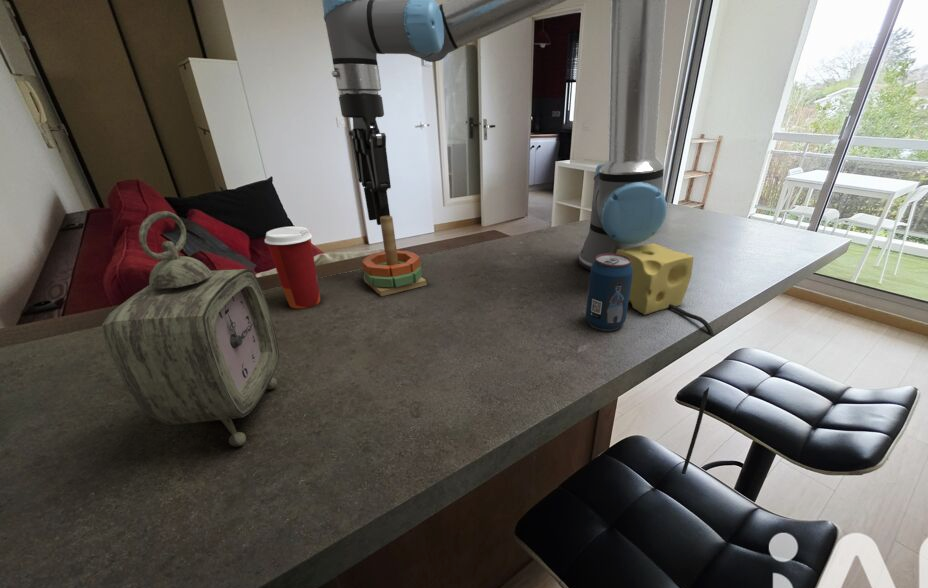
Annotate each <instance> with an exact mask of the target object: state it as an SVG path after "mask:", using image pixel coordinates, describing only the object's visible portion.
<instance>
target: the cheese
mask: <svg viewBox="0 0 928 588" xmlns="http://www.w3.org/2000/svg"><path fill="white" fill-rule="evenodd" d="M616 254H619V255H623V256H626V257H628V258H630V260H631V266H632V269H633V276H632V282H631V288H630V295H629V301H628V304H631V306H632V308H633V309H634V310H636V311H637V312H638V313H640V314H642V315H644V316H645V315H649V314H652V313H655V312H658V311H662V310H666V309H670V308H669V305H670V304H672V305H674V306H676V307H678V306H681V305H682V302H683V300H684V298H685V296H686V293H687V290H688V288H689V284H690V281H691V279H692V273H693V266H694V255H691V254H688V253H684V252H680V251H676V250H673V249H670V248H667V247H665V246H662V245H659V244H657V243H655V242H653V243H646V244H642V245H641V246H637V247H632V248H625V249H618V250H617V252H616Z"/></svg>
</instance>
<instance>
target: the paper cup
mask: <svg viewBox="0 0 928 588" xmlns="http://www.w3.org/2000/svg"><path fill="white" fill-rule="evenodd" d="M312 238H313V235H312V234H311V233H310V230H309V228H307V227H305V226H298V225H297V226H295V225H293V226H282V227H277V228H273V229H270V230H268V231H266V233H265V238H264V243H265V244H267V247H268V249H269V252H270V254H271V258H272V261H273V264H274V267H275V270H276V273H277V276H278V278H279V282H280V284H281V286H282V290H283V292H284V296H285V298H286V301H287V303H288V306H289V307H290V308H292V309H297V310H298V309H308V308H312V307H314V306H317V305H318V304H319V303H320V302H321V295H320V288H319V281H318V275H317V269H316V268H317V267H316V263H315V256H314V250H313V244H312Z"/></svg>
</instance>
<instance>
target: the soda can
mask: <svg viewBox="0 0 928 588" xmlns="http://www.w3.org/2000/svg"><path fill="white" fill-rule="evenodd" d="M632 276H633V269H632V266H631V260H630V258H628V257H626V256H623V255H619V254H610V253H607V254H600V255H598V256H596V258H595V261H594V263H593V264H592V266H591V270H590V272H589V280H588V289H587V300H586V310H585V318H586V320H587V322H588V324H589V325H590V327H592V328H593V329H596V330H598V331H603V332H604V331H605V332H611V331H617V330H619V329H620V328H621V327H622V326H623V325H624V323H625V322H626V320H627V313H628V306H629V303H628V301H629V295H630V288H631V282H632Z"/></svg>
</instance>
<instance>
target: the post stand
mask: <svg viewBox="0 0 928 588" xmlns="http://www.w3.org/2000/svg"><path fill="white" fill-rule="evenodd" d="M380 222H381V225H380V229H381V235H382V242H383V249H384V250H383V251H385V257H386V264H387V265H389V266H391V265H396V264H398V257H397V242H396V235H395V227H394V221H393V216H392V215H390V216H382V217H380ZM363 281H364V282H365V284H367V285H368V286H369V287H370V288H371V289H372V290H373V291H374V292H375V293H377V294H378V295H379V296H380V297H384V296H389V295H392V294H397V293H401V292H404V291H410V290H413V289H417V288H421V287H425V286H427V279H425V278H423V277H422V276H421V277H420V278H419V279H418V280H417V281H416V282H414V283H411V284H407V285H403V286H399V287H395V286H393V287H378V286H374V285H371V284H370V283H369V282H367V281H366V280H365V275H363Z"/></svg>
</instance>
